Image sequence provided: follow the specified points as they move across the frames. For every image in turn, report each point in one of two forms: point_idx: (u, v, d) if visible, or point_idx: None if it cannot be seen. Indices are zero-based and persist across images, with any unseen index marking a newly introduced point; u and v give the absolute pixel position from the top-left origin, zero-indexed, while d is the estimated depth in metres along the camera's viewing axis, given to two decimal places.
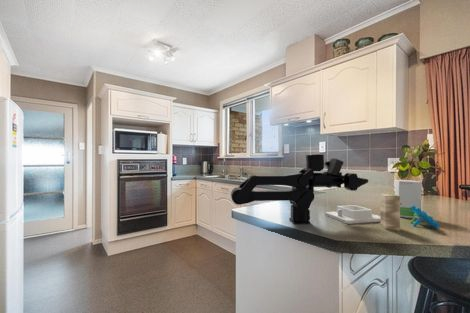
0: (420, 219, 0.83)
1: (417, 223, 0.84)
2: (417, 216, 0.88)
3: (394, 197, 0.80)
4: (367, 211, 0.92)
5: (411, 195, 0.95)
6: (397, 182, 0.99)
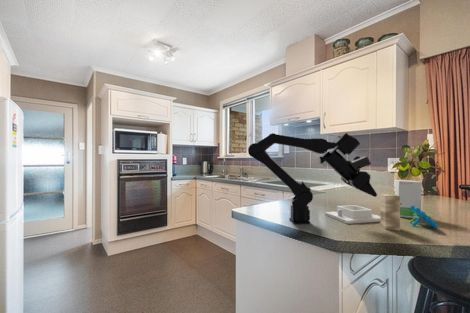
0: (419, 219, 0.84)
1: (416, 223, 0.84)
2: (417, 216, 0.88)
3: (394, 197, 0.80)
4: (367, 211, 0.92)
5: (410, 195, 0.95)
6: (397, 182, 0.99)
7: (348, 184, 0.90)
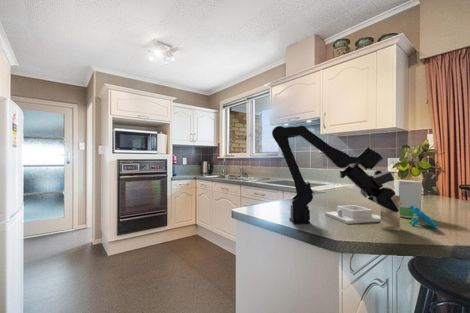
0: (418, 219, 0.84)
1: (415, 223, 0.84)
2: (416, 216, 0.88)
3: (394, 197, 0.80)
4: (367, 211, 0.92)
5: (411, 195, 0.95)
6: (397, 182, 0.99)
7: None
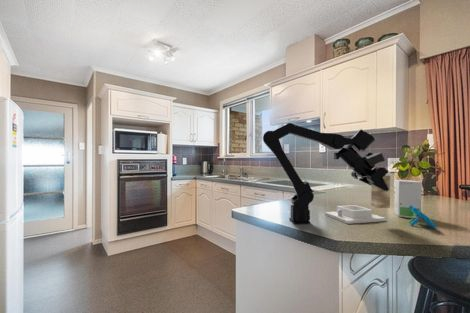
0: (417, 219, 0.84)
1: (414, 223, 0.84)
2: (416, 216, 0.88)
3: (385, 177, 0.84)
4: (367, 211, 0.92)
5: (411, 195, 0.95)
6: (397, 182, 0.99)
7: (362, 181, 0.90)
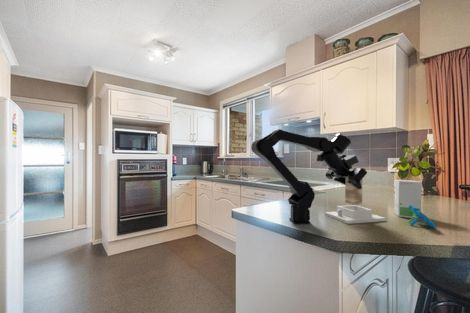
0: (417, 219, 0.84)
1: (414, 222, 0.84)
2: (416, 216, 0.88)
3: None
4: (367, 211, 0.92)
5: (411, 195, 0.95)
6: (397, 182, 0.99)
7: (338, 180, 0.97)
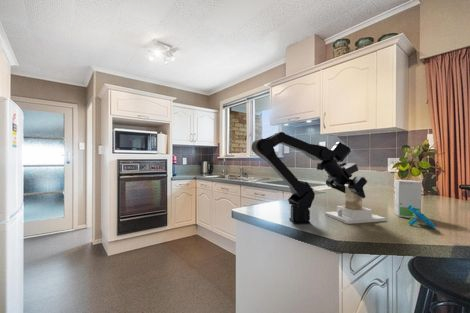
0: (416, 218, 0.84)
1: (413, 222, 0.84)
2: (415, 216, 0.88)
3: None
4: (367, 211, 0.92)
5: (411, 195, 0.95)
6: (397, 182, 0.99)
7: (335, 188, 0.99)
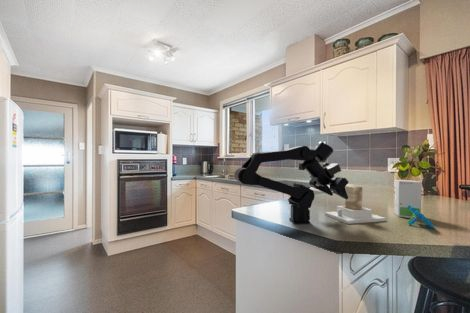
0: (415, 218, 0.84)
1: (412, 222, 0.85)
2: (415, 216, 0.88)
3: (358, 188, 0.94)
4: (367, 211, 0.92)
5: (411, 195, 0.95)
6: (397, 182, 0.99)
7: (317, 188, 0.98)
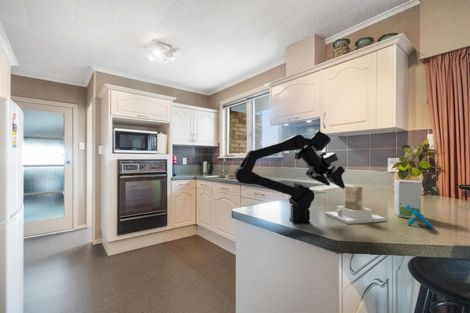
0: (414, 218, 0.84)
1: (411, 222, 0.85)
2: (414, 216, 0.88)
3: (358, 188, 0.94)
4: (367, 211, 0.92)
5: (411, 195, 0.95)
6: (397, 182, 0.99)
7: (314, 178, 0.97)
